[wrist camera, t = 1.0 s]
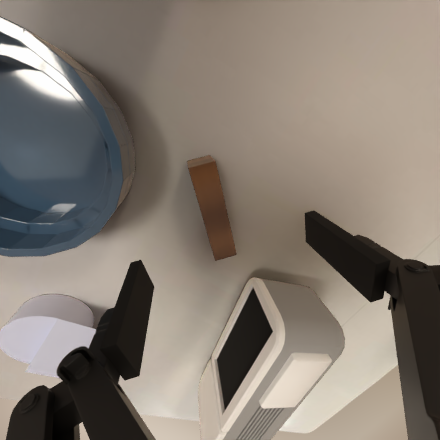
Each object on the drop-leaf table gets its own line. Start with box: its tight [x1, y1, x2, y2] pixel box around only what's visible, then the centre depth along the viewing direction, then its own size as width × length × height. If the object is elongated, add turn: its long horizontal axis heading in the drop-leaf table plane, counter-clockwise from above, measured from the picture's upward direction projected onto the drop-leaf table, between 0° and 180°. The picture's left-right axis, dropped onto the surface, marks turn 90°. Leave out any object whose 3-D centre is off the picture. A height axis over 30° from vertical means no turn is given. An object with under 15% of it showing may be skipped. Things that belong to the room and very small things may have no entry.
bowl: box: [0, 16, 136, 257], centre depth 17 cm, size 17×17×6 cm
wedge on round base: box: [0, 294, 96, 378], centre depth 26 cm, size 9×7×13 cm
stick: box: [187, 155, 236, 261], centre depth 23 cm, size 11×3×4 cm, turn 13°
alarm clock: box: [198, 277, 345, 440], centre depth 31 cm, size 27×9×12 cm, turn 161°
